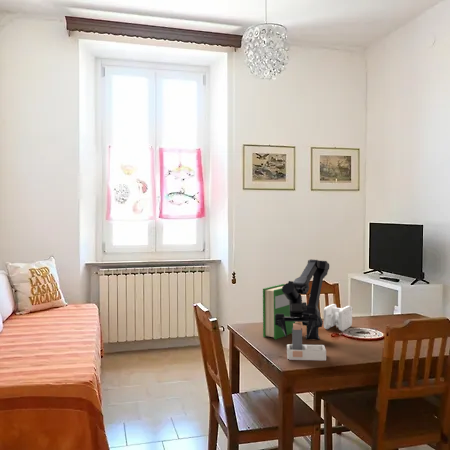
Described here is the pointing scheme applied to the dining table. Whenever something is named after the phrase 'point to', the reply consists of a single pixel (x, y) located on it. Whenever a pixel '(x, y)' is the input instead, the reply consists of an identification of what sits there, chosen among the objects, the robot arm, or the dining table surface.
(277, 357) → the dining table surface
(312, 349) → the socket strip
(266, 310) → the hardback book
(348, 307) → the cable organizer
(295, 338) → the gray rectangular block
